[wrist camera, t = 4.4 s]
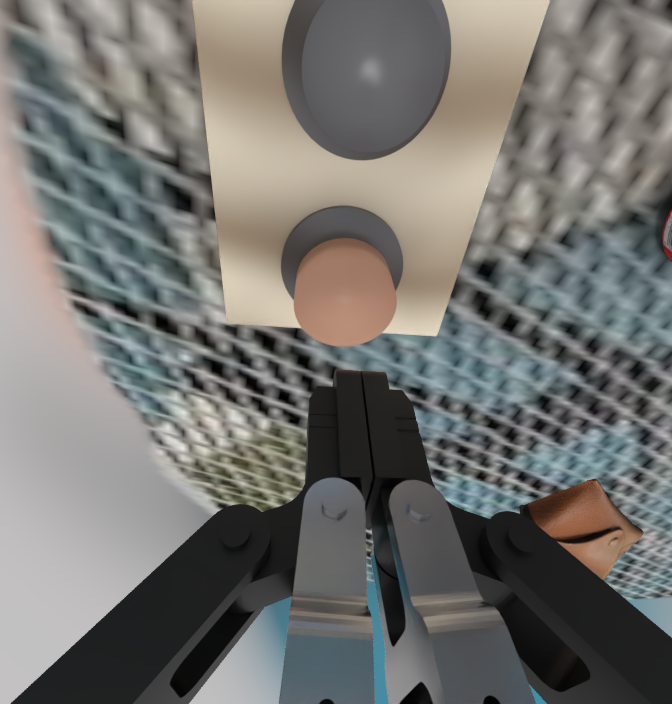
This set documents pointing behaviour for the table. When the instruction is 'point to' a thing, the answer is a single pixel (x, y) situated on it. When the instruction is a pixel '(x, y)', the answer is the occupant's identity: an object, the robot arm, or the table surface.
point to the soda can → (667, 236)
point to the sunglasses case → (585, 525)
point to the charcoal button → (372, 70)
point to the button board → (350, 156)
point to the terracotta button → (344, 293)
